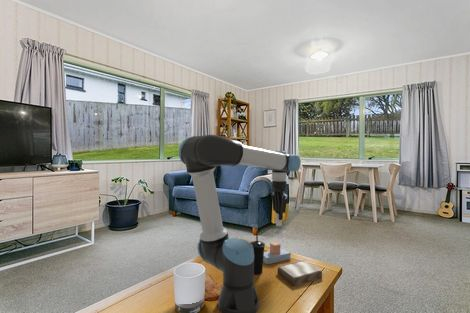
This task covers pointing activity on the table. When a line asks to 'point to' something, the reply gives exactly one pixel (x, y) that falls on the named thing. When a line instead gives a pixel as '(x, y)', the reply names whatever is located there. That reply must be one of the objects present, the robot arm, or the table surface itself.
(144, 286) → the table surface
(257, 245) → the black tall container
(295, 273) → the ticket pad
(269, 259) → the blue base with cube
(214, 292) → the table surface
